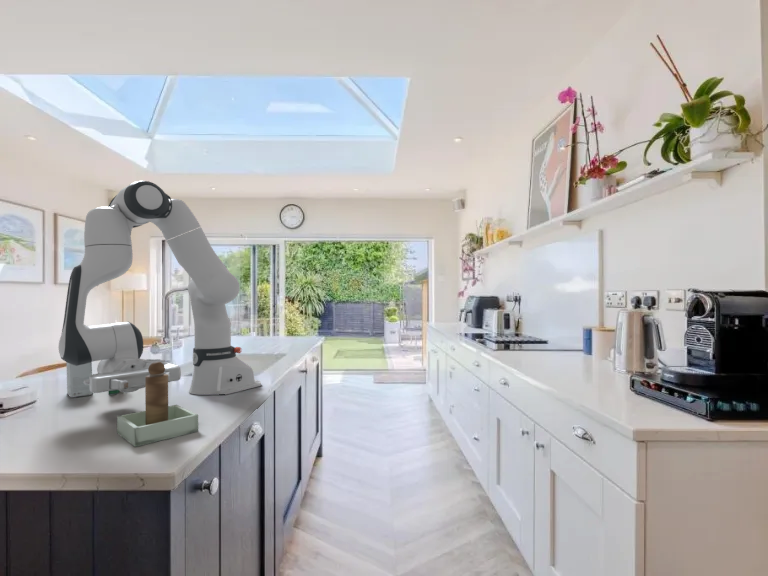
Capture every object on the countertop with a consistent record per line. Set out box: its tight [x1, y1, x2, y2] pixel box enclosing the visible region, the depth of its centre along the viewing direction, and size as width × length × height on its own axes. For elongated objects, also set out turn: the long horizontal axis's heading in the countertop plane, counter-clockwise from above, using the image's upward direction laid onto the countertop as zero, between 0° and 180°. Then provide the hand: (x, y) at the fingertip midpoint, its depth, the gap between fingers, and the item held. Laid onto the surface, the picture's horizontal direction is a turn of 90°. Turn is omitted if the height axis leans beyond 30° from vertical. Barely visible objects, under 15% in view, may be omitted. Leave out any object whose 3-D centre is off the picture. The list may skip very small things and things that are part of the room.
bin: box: [116, 404, 199, 448], centre depth 95 cm, size 13×13×4 cm
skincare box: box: [65, 361, 94, 398], centre depth 132 cm, size 8×6×15 cm
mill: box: [144, 362, 169, 425], centre depth 95 cm, size 5×5×15 cm
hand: (146, 382), depth 101 cm, fingers open, 8 cm apart
